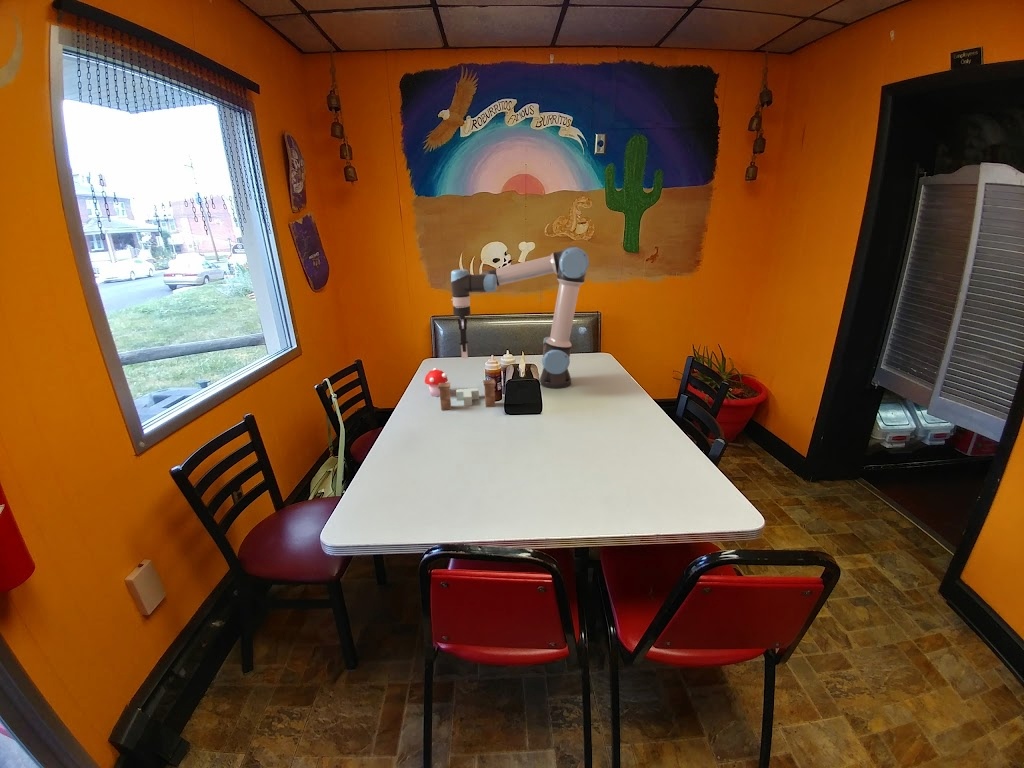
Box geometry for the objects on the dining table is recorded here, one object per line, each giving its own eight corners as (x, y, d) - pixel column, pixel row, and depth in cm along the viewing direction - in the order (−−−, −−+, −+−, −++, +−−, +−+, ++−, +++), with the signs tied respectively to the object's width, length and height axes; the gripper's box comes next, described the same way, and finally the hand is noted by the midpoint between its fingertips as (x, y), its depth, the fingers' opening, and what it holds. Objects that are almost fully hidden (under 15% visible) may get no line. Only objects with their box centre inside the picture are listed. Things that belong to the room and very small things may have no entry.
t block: (478, 396, 204) (478, 388, 203) (479, 404, 194) (479, 396, 193) (456, 397, 203) (456, 389, 202) (456, 406, 193) (456, 397, 192)
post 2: (495, 402, 196) (494, 379, 192) (496, 406, 191) (495, 383, 188) (484, 403, 195) (483, 380, 192) (485, 407, 191) (483, 383, 187)
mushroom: (447, 398, 203) (445, 373, 199) (423, 398, 203) (420, 373, 199) (450, 390, 213) (448, 366, 209) (428, 390, 213) (425, 366, 209)
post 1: (451, 405, 194) (450, 382, 190) (451, 409, 189) (449, 386, 186) (440, 406, 194) (438, 383, 190) (440, 410, 189) (438, 386, 185)
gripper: (453, 304, 200) (456, 354, 208) (452, 309, 188) (456, 362, 196) (469, 303, 201) (472, 353, 209) (470, 308, 189) (473, 361, 197)
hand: (464, 357), depth 203 cm, fingers closed
